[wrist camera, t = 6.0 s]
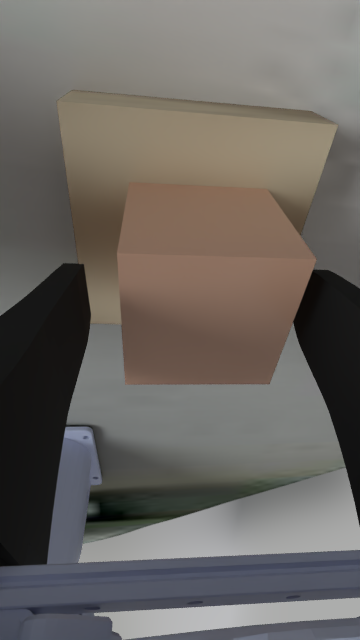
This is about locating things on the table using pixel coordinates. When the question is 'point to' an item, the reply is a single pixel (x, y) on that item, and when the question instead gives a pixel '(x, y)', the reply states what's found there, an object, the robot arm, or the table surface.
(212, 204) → the terracotta cube
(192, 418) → the table surface
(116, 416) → the table surface
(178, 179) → the oak block
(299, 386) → the table surface
